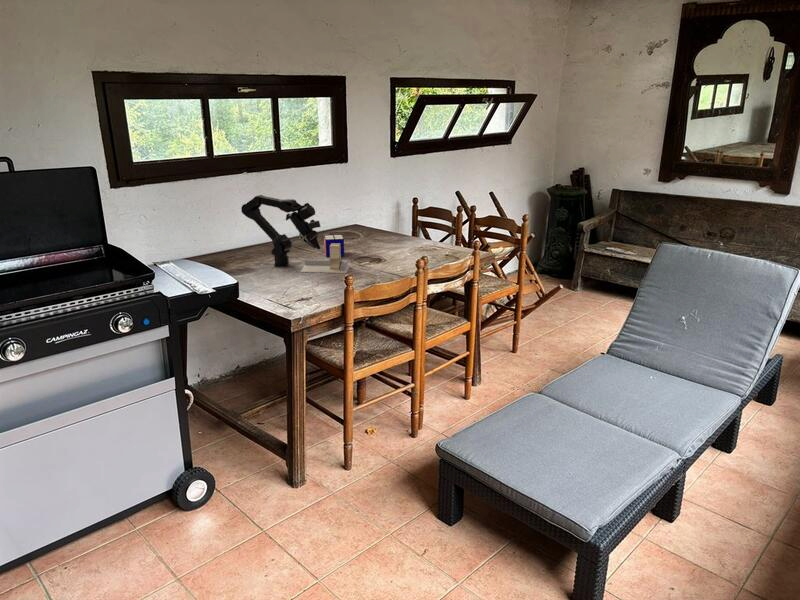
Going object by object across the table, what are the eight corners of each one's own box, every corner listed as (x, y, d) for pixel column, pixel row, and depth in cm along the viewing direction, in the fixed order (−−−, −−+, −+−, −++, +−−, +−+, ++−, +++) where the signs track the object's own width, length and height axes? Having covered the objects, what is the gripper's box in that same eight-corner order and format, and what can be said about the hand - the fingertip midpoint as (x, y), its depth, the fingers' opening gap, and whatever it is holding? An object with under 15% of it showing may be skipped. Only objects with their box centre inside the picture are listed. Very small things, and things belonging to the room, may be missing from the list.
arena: (300, 272, 300) (300, 266, 299) (305, 265, 313) (305, 259, 312) (346, 273, 299) (346, 267, 298) (349, 265, 312) (349, 260, 311)
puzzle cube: (326, 257, 329) (325, 239, 326) (324, 253, 338) (324, 235, 335) (344, 256, 331) (344, 238, 328) (342, 252, 340) (342, 234, 337)
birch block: (339, 269, 304) (338, 246, 300) (330, 269, 304) (329, 246, 300) (341, 266, 309) (340, 243, 306) (332, 266, 310) (331, 243, 306)
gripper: (316, 214, 295) (334, 240, 300) (308, 213, 312) (325, 238, 317) (298, 227, 292) (316, 253, 297) (291, 226, 310) (308, 250, 315)
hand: (317, 248), depth 307 cm, fingers open, 9 cm apart
